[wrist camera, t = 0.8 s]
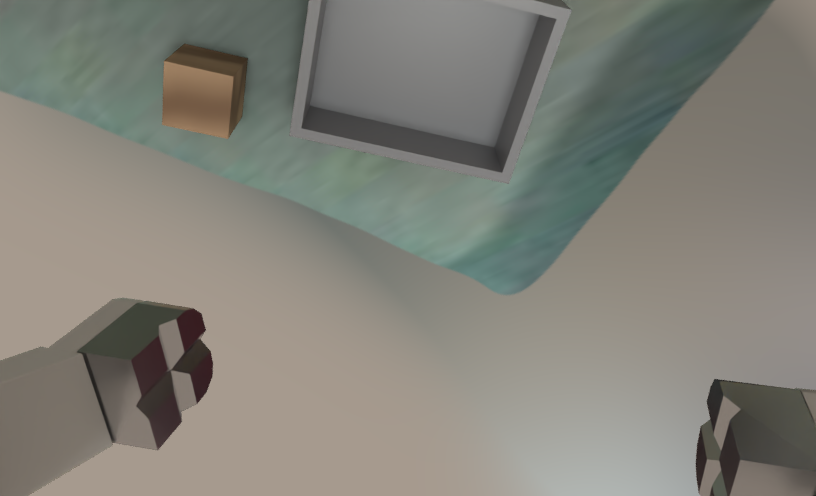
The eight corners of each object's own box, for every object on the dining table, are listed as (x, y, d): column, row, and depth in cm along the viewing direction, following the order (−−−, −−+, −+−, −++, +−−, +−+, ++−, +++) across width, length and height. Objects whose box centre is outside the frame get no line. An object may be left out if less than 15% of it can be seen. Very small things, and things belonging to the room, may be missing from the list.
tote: (326, -66, 45) (317, -57, 40) (555, -6, 47) (571, 10, 42) (300, 110, 52) (289, 135, 47) (499, 155, 54) (508, 183, 50)
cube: (184, 43, 49) (164, 60, 45) (247, 58, 50) (233, 76, 46) (181, 102, 52) (162, 124, 48) (242, 116, 52) (228, 138, 48)
